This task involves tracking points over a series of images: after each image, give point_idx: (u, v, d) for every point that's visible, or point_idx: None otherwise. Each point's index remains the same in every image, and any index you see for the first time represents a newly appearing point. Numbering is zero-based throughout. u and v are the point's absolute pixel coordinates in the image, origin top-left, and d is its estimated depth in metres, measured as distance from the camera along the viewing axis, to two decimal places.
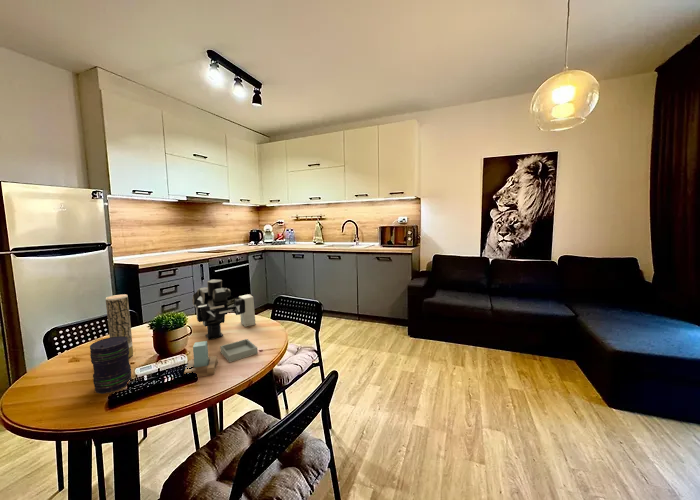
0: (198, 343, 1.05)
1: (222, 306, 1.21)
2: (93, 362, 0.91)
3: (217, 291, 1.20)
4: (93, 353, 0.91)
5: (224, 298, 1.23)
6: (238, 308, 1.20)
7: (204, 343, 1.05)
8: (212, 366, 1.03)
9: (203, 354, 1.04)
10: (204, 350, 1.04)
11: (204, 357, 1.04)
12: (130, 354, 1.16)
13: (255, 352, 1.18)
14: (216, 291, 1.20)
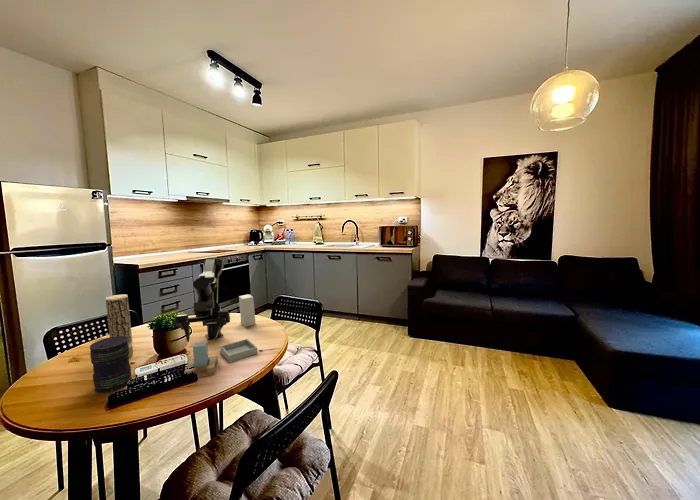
0: (198, 343, 1.05)
1: (204, 317, 1.12)
2: (93, 362, 0.91)
3: (196, 307, 1.07)
4: (93, 353, 0.91)
5: (206, 310, 1.11)
6: (216, 329, 1.10)
7: (204, 343, 1.05)
8: (212, 366, 1.03)
9: (203, 354, 1.04)
10: (204, 350, 1.04)
11: (204, 357, 1.04)
12: (130, 354, 1.16)
13: (255, 352, 1.18)
14: (195, 307, 1.07)
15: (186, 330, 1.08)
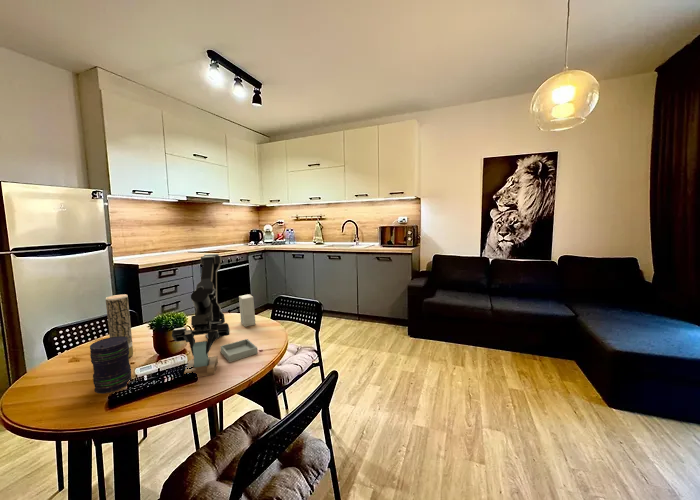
0: (198, 343, 1.05)
1: (209, 329, 1.09)
2: (93, 362, 0.91)
3: (194, 321, 1.03)
4: (93, 353, 0.91)
5: (205, 323, 1.07)
6: (208, 344, 1.06)
7: (204, 343, 1.05)
8: (212, 366, 1.03)
9: (203, 354, 1.04)
10: (204, 350, 1.04)
11: (204, 357, 1.04)
12: (130, 354, 1.16)
13: (255, 352, 1.18)
14: (193, 321, 1.03)
15: (191, 343, 1.04)
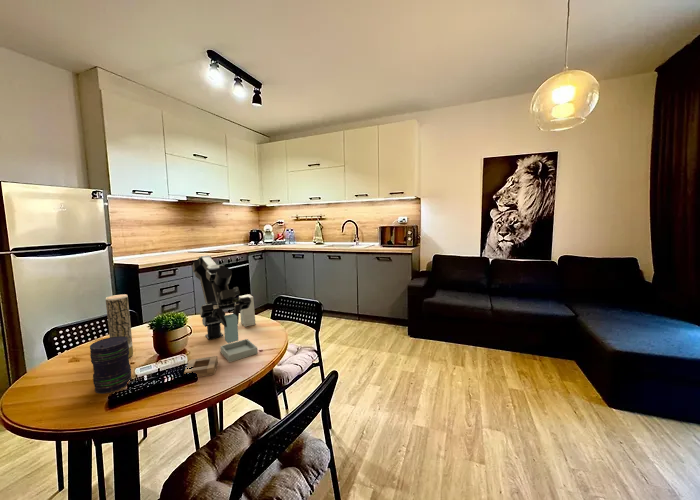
0: (228, 316, 1.14)
1: (234, 303, 1.18)
2: (93, 362, 0.91)
3: (226, 295, 1.12)
4: (93, 353, 0.91)
5: (231, 297, 1.16)
6: (237, 315, 1.16)
7: (234, 315, 1.15)
8: (212, 366, 1.03)
9: (235, 324, 1.14)
10: (236, 321, 1.14)
11: (236, 327, 1.14)
12: (130, 354, 1.16)
13: (255, 352, 1.18)
14: (225, 295, 1.12)
15: (222, 316, 1.13)
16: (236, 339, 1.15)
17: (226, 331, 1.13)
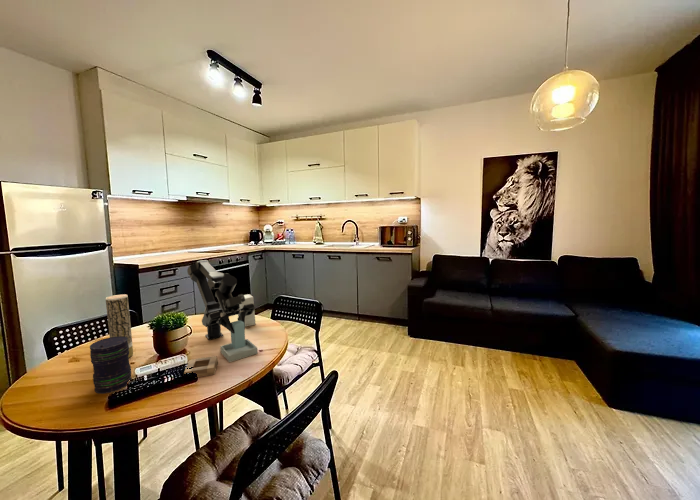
0: (234, 322, 1.18)
1: (239, 310, 1.22)
2: (93, 362, 0.91)
3: (233, 302, 1.16)
4: (93, 353, 0.91)
5: (237, 304, 1.20)
6: None
7: (241, 321, 1.19)
8: (212, 366, 1.03)
9: (242, 330, 1.18)
10: (243, 327, 1.18)
11: (243, 333, 1.18)
12: (130, 354, 1.16)
13: (255, 352, 1.18)
14: (232, 302, 1.15)
15: (229, 323, 1.16)
16: (243, 345, 1.18)
17: (234, 337, 1.16)
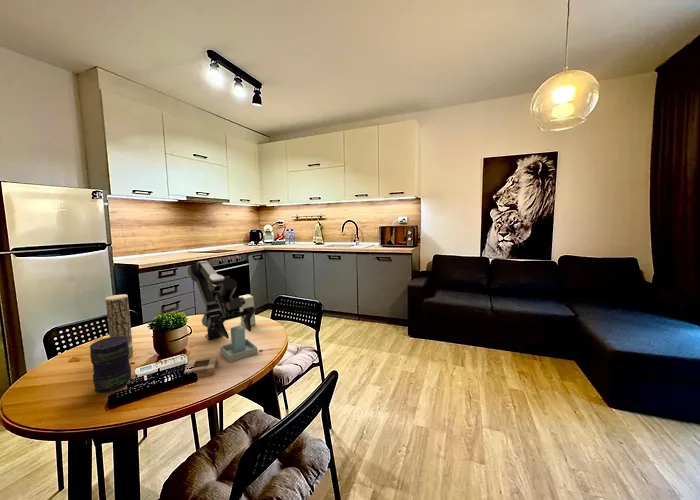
0: (235, 328, 1.18)
1: (233, 315, 1.20)
2: (93, 362, 0.91)
3: (233, 305, 1.16)
4: (93, 353, 0.91)
5: (237, 308, 1.20)
6: (249, 323, 1.22)
7: (241, 327, 1.19)
8: (212, 366, 1.03)
9: (243, 336, 1.18)
10: (243, 332, 1.18)
11: (243, 338, 1.18)
12: (130, 354, 1.16)
13: (255, 352, 1.18)
14: (232, 305, 1.16)
15: (223, 328, 1.14)
16: (244, 350, 1.18)
17: (234, 343, 1.17)
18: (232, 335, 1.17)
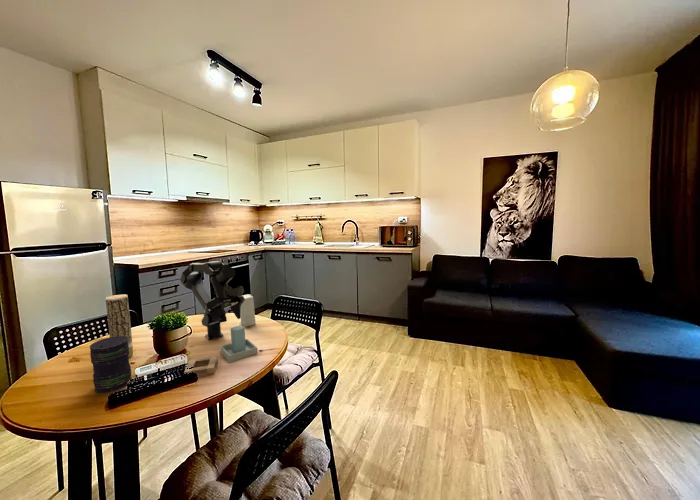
0: (235, 328, 1.18)
1: (229, 300, 1.27)
2: (93, 362, 0.91)
3: (238, 292, 1.25)
4: (93, 353, 0.91)
5: None
6: (239, 311, 1.31)
7: (241, 327, 1.19)
8: (212, 366, 1.03)
9: (243, 336, 1.18)
10: (243, 332, 1.18)
11: (243, 338, 1.18)
12: (130, 354, 1.16)
13: (255, 352, 1.18)
14: (237, 292, 1.24)
15: (224, 311, 1.21)
16: (243, 350, 1.18)
17: (234, 343, 1.17)
18: (232, 335, 1.17)
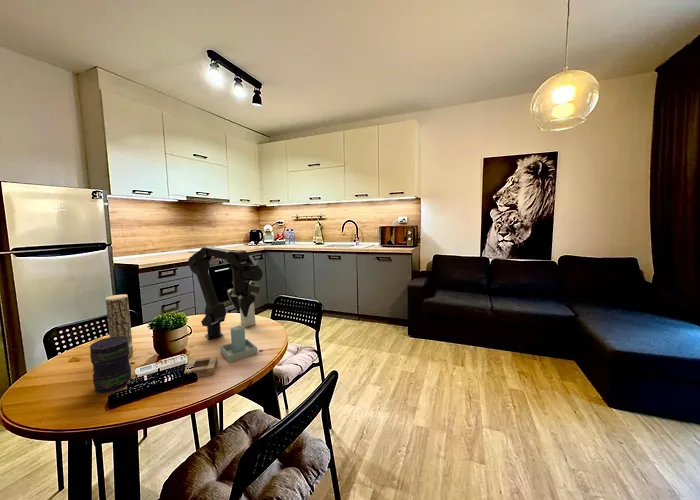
0: (235, 328, 1.18)
1: None
2: (93, 362, 0.91)
3: None
4: (93, 353, 0.91)
5: None
6: None
7: (241, 327, 1.19)
8: (212, 366, 1.03)
9: (243, 336, 1.18)
10: (243, 332, 1.18)
11: (243, 338, 1.18)
12: (130, 354, 1.16)
13: (255, 352, 1.18)
14: None
15: None
16: (243, 350, 1.18)
17: (234, 343, 1.17)
18: (232, 335, 1.17)
